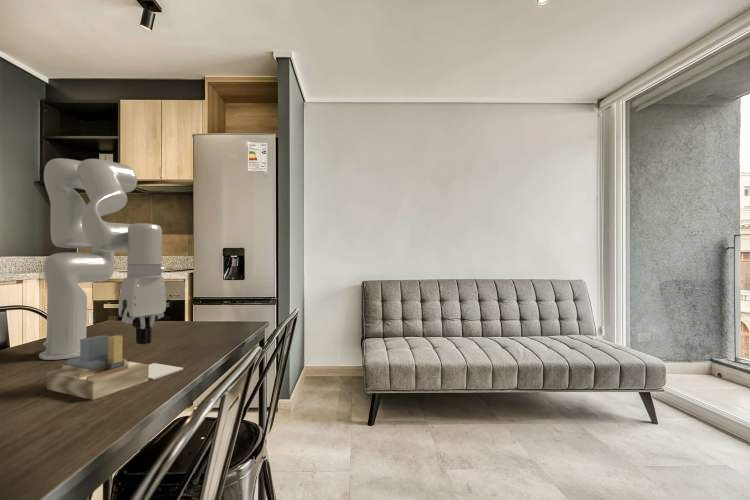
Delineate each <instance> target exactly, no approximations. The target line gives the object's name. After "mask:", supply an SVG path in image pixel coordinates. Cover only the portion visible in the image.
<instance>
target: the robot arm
mask: <svg viewBox="0 0 750 500" xmlns="http://www.w3.org/2000/svg"><path fill="white" fill-rule="evenodd" d="M43 182H44V185H45V190H46V192H47V195H48V198H49V202H50V240H51V242H52V244H53V245H54V246H55V247H58V248H65V249H91V250H92V252H75V251H72V252H70V251H69V252H57V253H53V254H51V255H49V256H48V257H46V258H45V261H44V262H43V263H44V264H43V273H44V278H45V283H46V292H47V293H46V297H47V298H46V300H47V301H46V333H45V334H46V340H45V341H44V342H43V343H42V345H43V346H44V347H45V350H44V351H41V352H40V353H39V354H38V358H39V359H41V360H43V361H44V360H45V361H55V360H57V361H58V360H66V359H67V360H69V359H73V358H77V357H80V340H81V339H85V338H87V328H88V327H87V324H88V323H87V321H88V319H87V318H88V316H87V315H88V295H87V294H86V292H85V291H84V289H83V288H82V287H81V286H80V285H79V284H83V283H96V282H99V283H100V282H104V281H108V280H110V279H111V278H112V276H113V274H114V272H115V271H114V270H115V253H126V256H127V258H126V259H127V261H126V264H127V265H126V277H123V279H122V281H121V286H120V291H119V298H118V316H119V317H121V318H122V319H121V323H123V324H130V325H132V326H133V329H135V341H136V343H135V344H137V345H144V346H145V345H148V344H151V342H152V328H153V327H155V323H156V322H157V320H159V319H161V318H164V317H165V313H164V312H166V308H167V293H166V292H167V291H166V283H165V280H164V276H163V275H162V274H163V273H162V272H165V267H164V266H163V265H162V263H163V261H162V259H163V257H162V256H163V255H162V251H163V250H162V248H163V247H162V245H163V229H162V227H161V226H160V225H159V224H155V223H146V222H145V223H144V222H143V223H142V222H141V223H139V222H138V223H137V222H136V223H125V222H124V223H123V222H122V223H121V222H120V223H119V222H107V221H105V220H103V219H102V216H106V215H110V214H114V213H116V212H118V211H121V210H122V209H123V208H124V207H125V206H126V204H127V203H128V196H127V193H131V192H133V191H134V190H135V189H136V187H137V186H138V185H137V184H138V177H137V173H136V171H135V169H133V167H131V166H129V165H127V164H123V163H119V162H115V161H110V160H105V159H99V158H88V159H87V158H86V159H84V160H77V159H70V158H63V157H62V158H60V157H58V158H52V159H50V160H49V161H47V163H46V164H45V167H44V171H43ZM76 189H78V190H79V189H80V190H84V191H85V193H86V195H87V197H88V199H89V202H88V203H87V204H86V202H85V200H84V198H83V196H81V194H80V193H79V192H78V191H77V190H76Z"/></svg>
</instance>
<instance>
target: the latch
mask: <svg viewBox="0 0 750 500" xmlns="http://www.w3.org/2000/svg"><path fill="white" fill-rule="evenodd" d="M109 336H110V335H109ZM123 337H124V336H123V335H117V334H115V335H112V336H110V337H108V355H105V356H101V357H100V360H106V361H108V362H107V363H106V371H108V370H111V369H115V368H118V367H122V366H124V360H122V359H123V341H124V339H123Z"/></svg>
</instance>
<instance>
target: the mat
mask: <svg viewBox="0 0 750 500" xmlns="http://www.w3.org/2000/svg"><path fill="white" fill-rule="evenodd" d="M148 365H149V376H148V380H153V381H154V380H157V379H160V378H162V377H165V376H168V375H171V374H174V373H177V372H180V371H182V370H184V367H180V366H175V365H168V364H161V363H156V362H153V363H151V364H150V363H149V364H148Z"/></svg>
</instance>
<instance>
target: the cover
mask: <svg viewBox="0 0 750 500" xmlns="http://www.w3.org/2000/svg"><path fill="white" fill-rule="evenodd" d="M108 337H110V335H103V334H102V335H97V336H91V337H86V338H85V339H81V340H80V356H79V357H74V358H68V359H67V360H66V365H69V366H75V367H80V368H85V369H90V371H93V370H96V369H100V368H104V367H106V363H107V362H108V361H106V360H100V357H101V356H105V355H108Z"/></svg>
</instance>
